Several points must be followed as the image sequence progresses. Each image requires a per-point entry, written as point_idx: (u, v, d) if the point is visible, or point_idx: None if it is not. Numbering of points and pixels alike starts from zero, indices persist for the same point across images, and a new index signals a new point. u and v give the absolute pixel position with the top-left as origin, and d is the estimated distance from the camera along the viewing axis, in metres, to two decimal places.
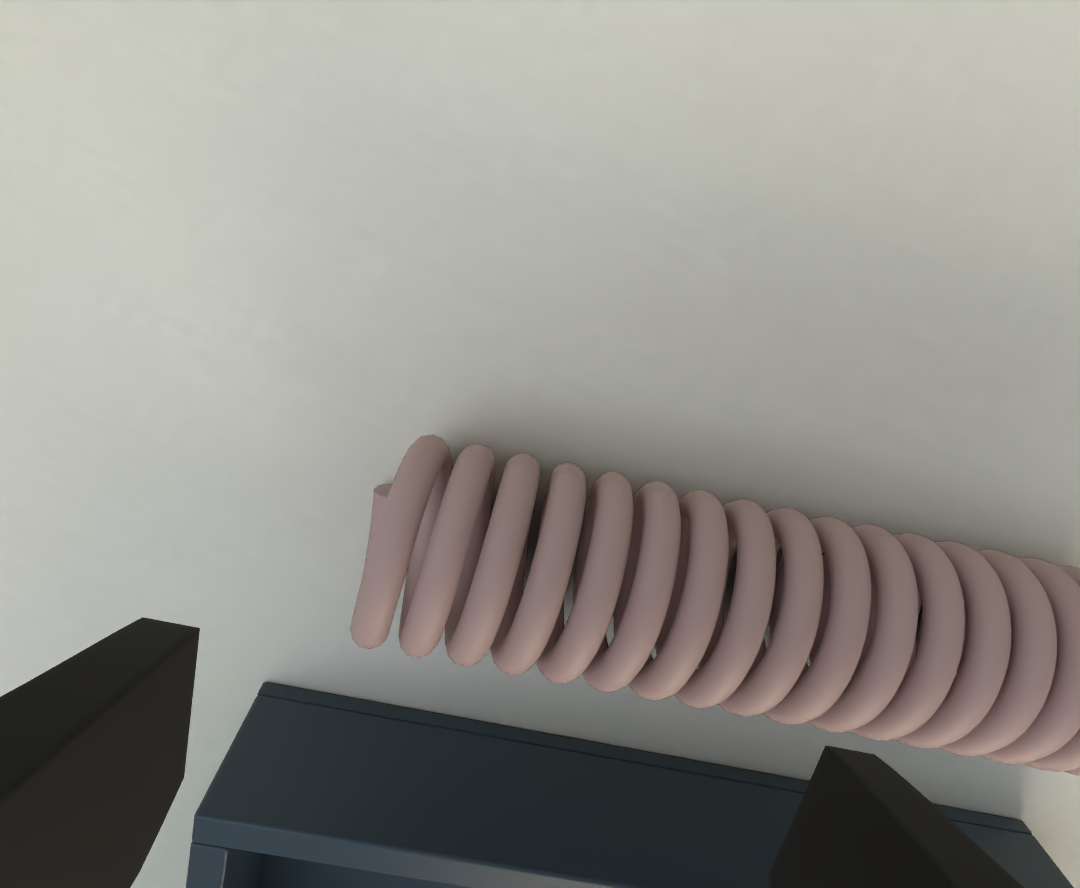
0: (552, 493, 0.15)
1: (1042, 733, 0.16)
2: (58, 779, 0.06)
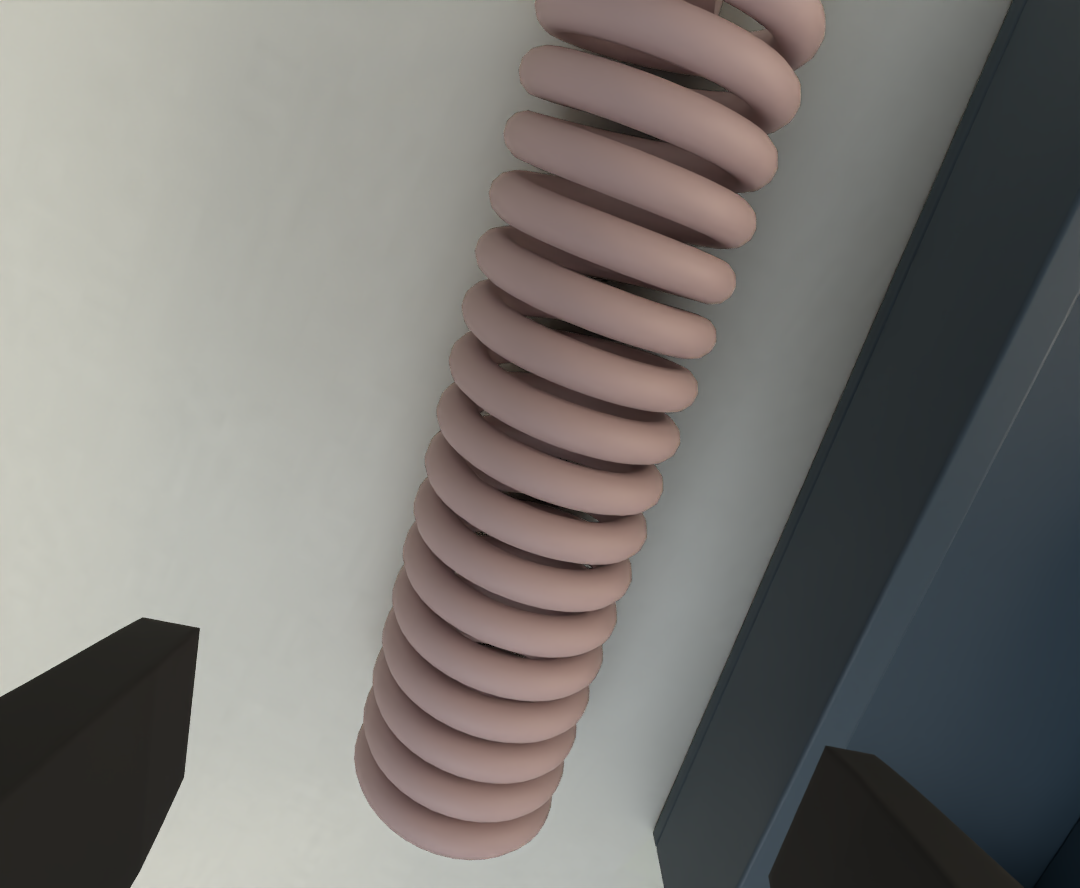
0: None
1: (694, 144, 0.11)
2: (58, 779, 0.06)
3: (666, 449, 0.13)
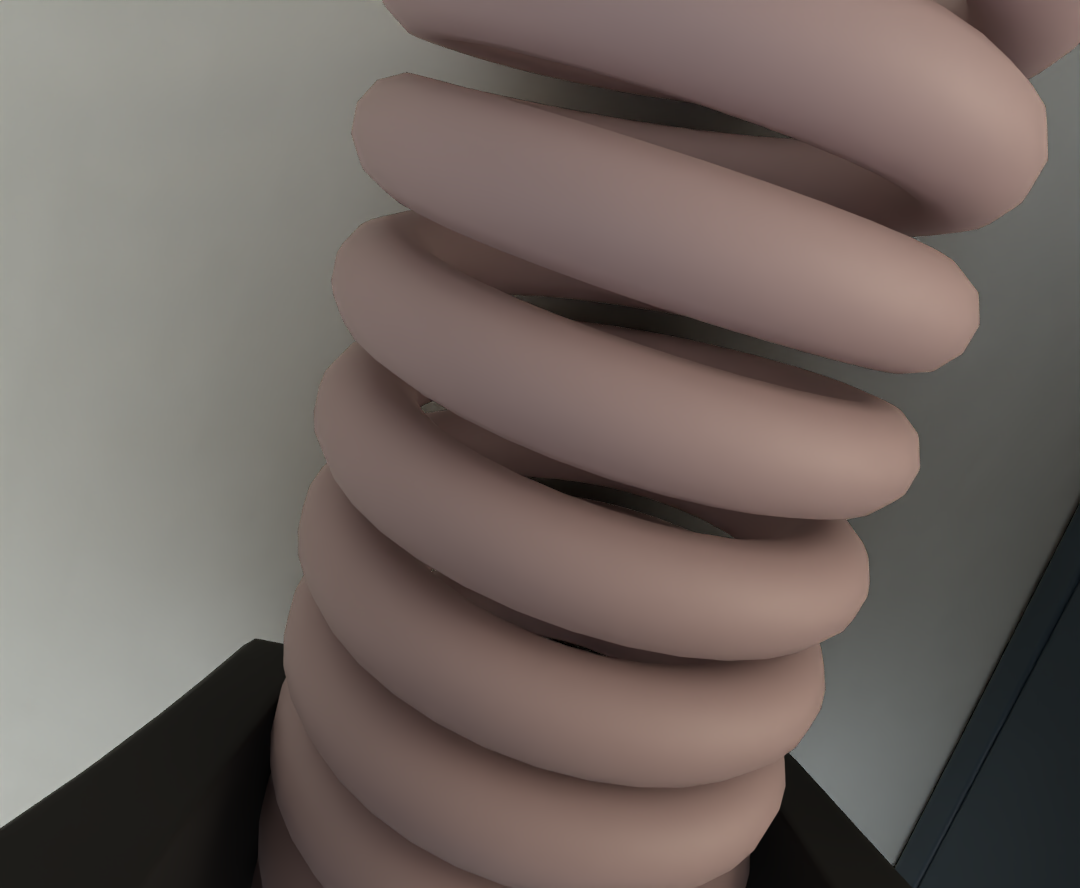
0: None
1: (798, 333, 0.04)
2: (216, 805, 0.06)
3: None
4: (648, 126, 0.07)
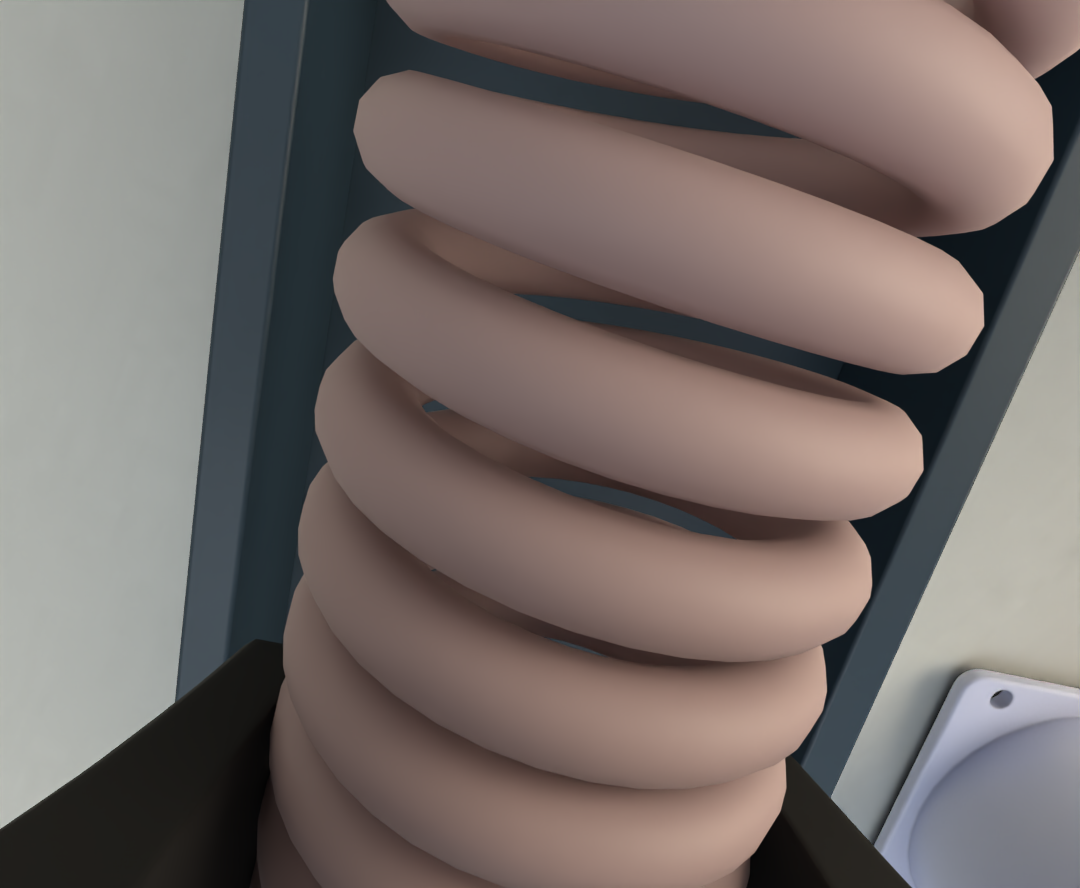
0: None
1: (802, 333, 0.04)
2: (217, 805, 0.06)
3: None
4: (651, 125, 0.07)
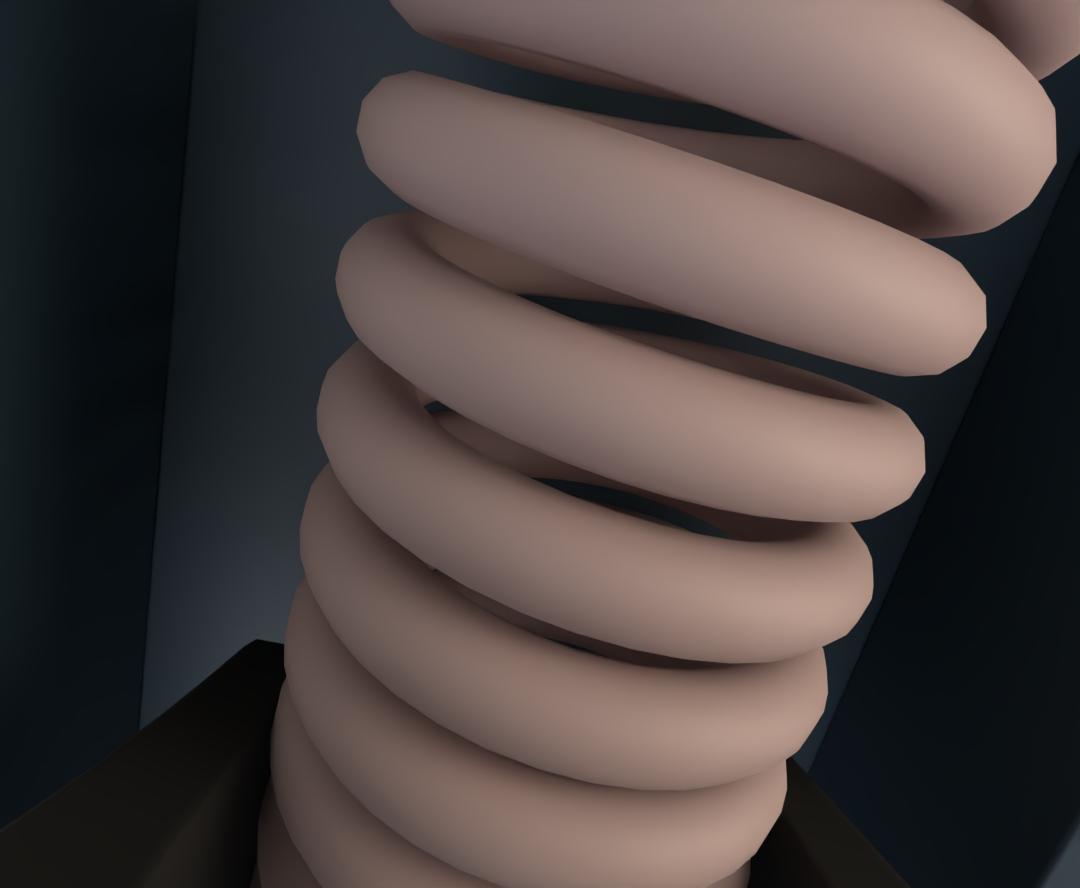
0: None
1: (805, 335, 0.04)
2: (217, 805, 0.06)
3: None
4: (653, 126, 0.07)
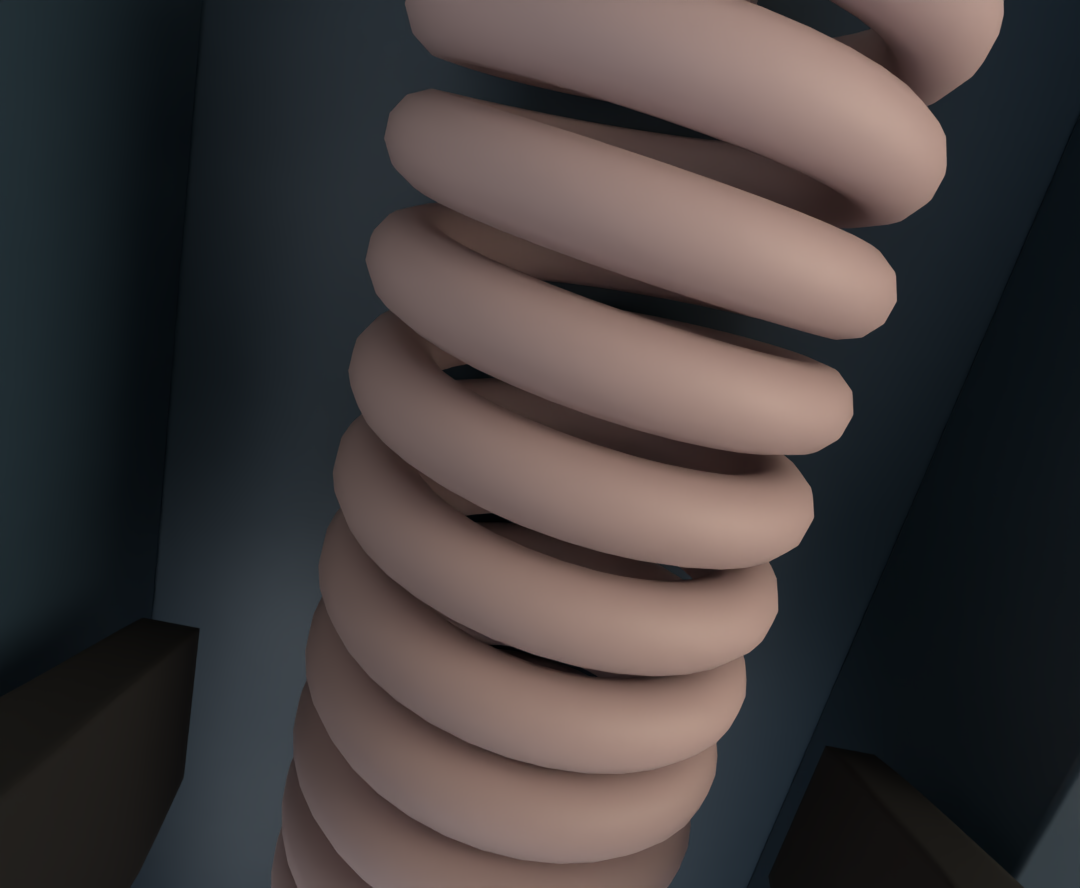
0: None
1: (740, 299, 0.05)
2: (58, 779, 0.06)
3: (696, 807, 0.07)
4: (634, 132, 0.08)
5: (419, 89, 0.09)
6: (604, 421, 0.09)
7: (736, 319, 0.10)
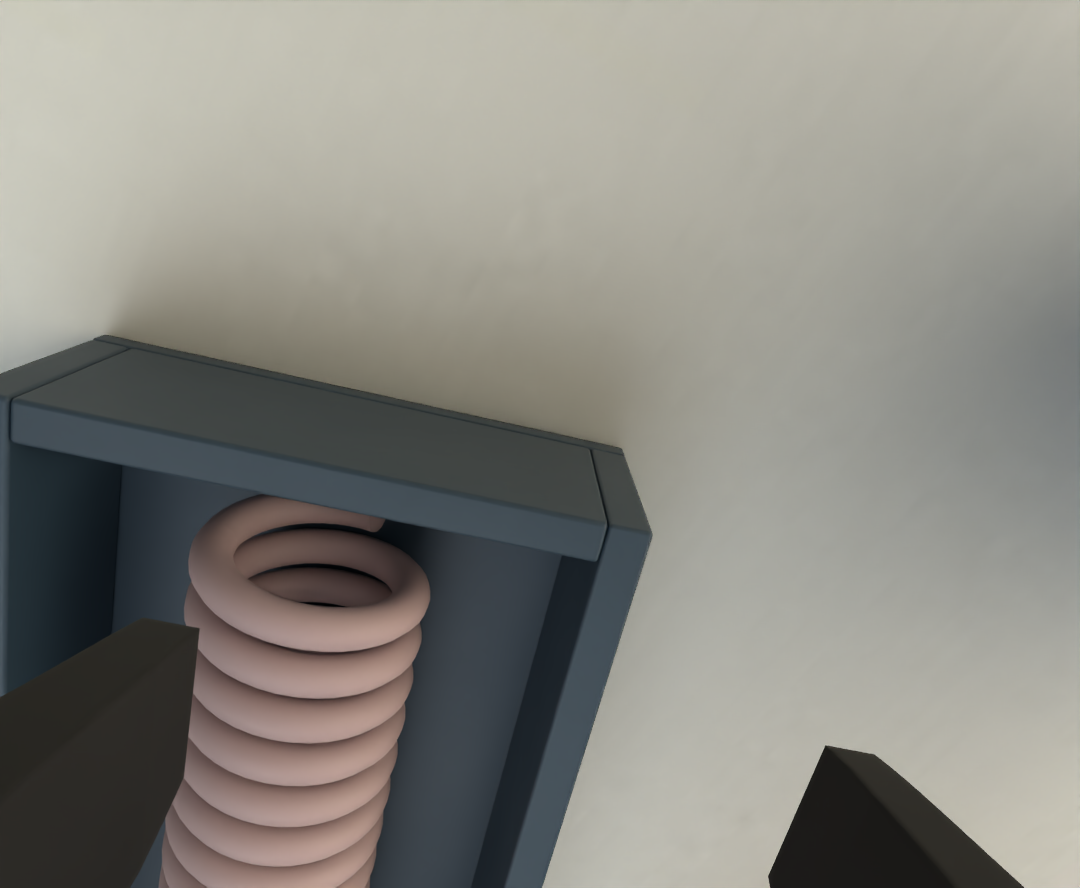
0: None
1: (296, 741, 0.14)
2: (58, 779, 0.06)
3: None
4: (328, 577, 0.17)
5: None
6: None
7: None
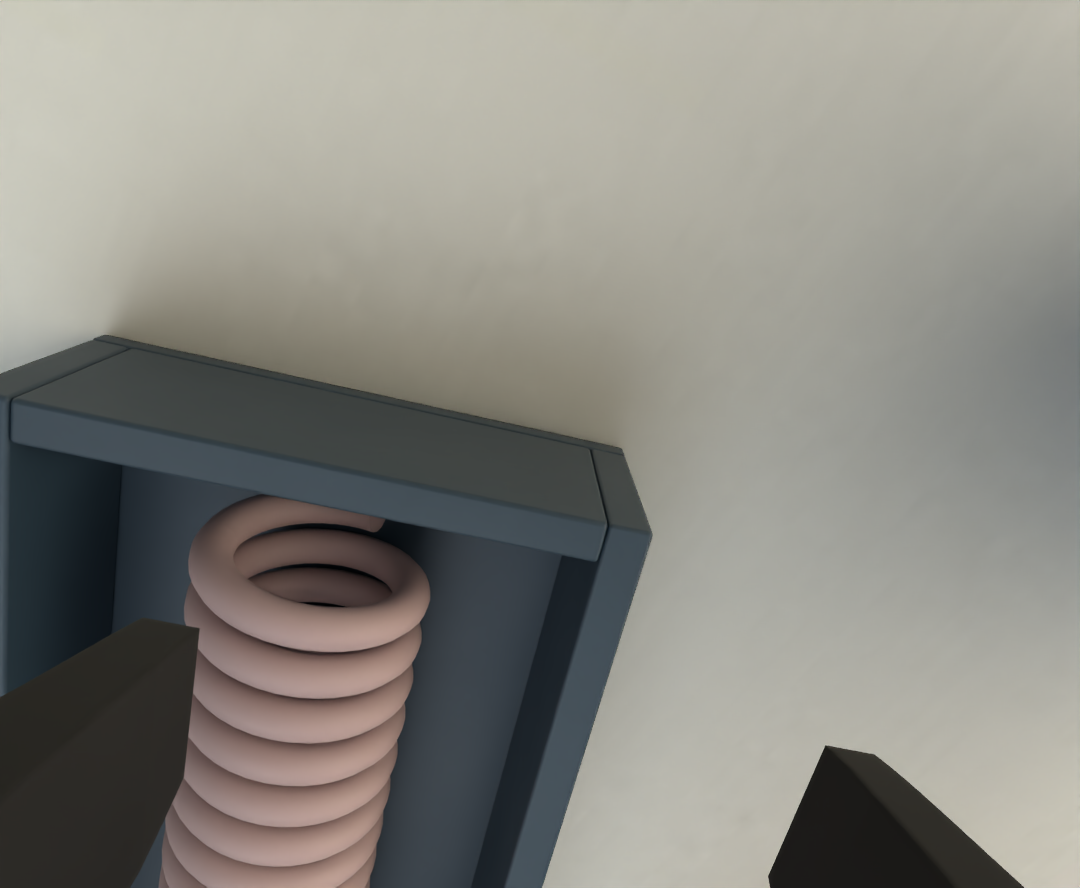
0: None
1: (296, 741, 0.14)
2: (58, 779, 0.06)
3: None
4: (328, 577, 0.17)
5: None
6: None
7: None
